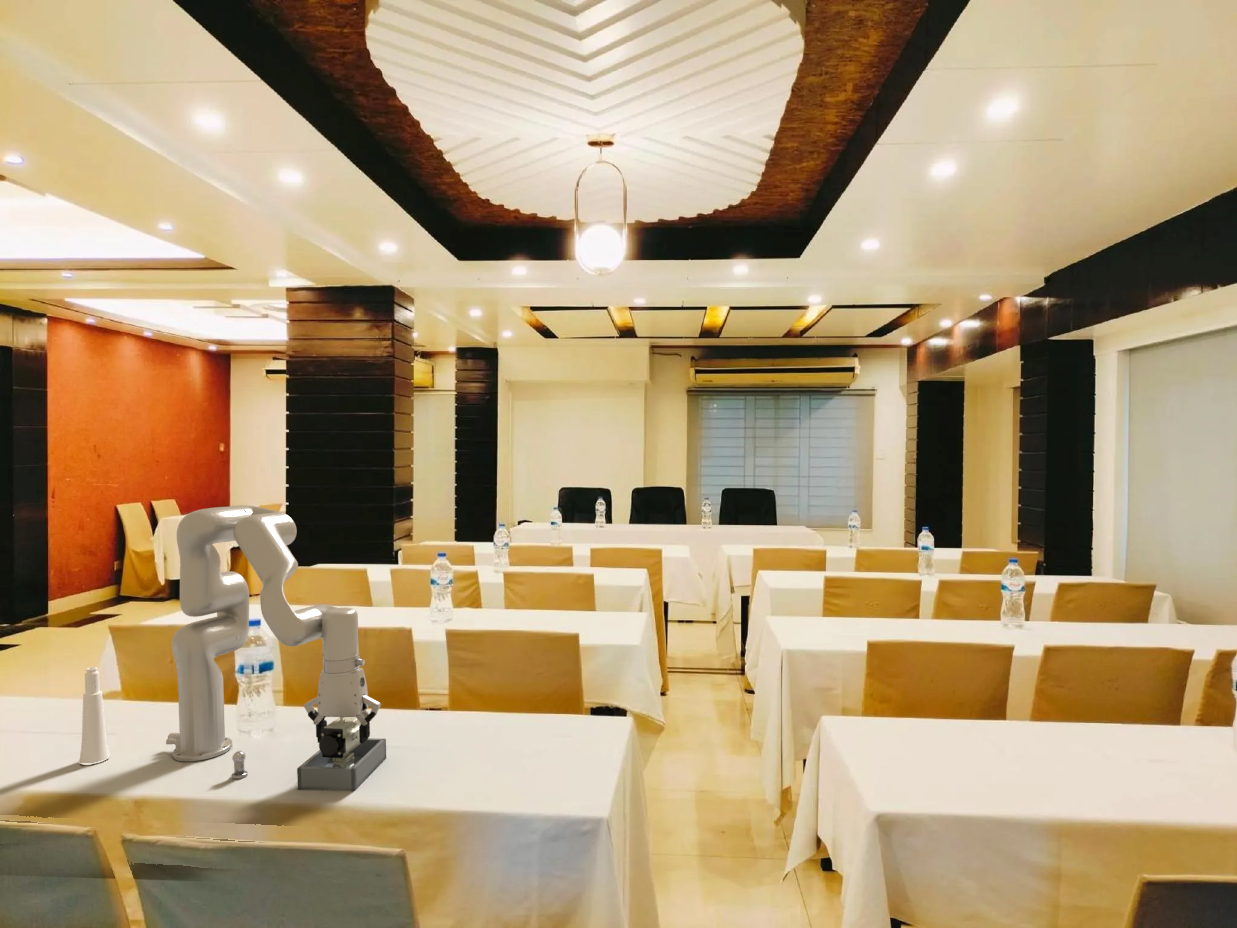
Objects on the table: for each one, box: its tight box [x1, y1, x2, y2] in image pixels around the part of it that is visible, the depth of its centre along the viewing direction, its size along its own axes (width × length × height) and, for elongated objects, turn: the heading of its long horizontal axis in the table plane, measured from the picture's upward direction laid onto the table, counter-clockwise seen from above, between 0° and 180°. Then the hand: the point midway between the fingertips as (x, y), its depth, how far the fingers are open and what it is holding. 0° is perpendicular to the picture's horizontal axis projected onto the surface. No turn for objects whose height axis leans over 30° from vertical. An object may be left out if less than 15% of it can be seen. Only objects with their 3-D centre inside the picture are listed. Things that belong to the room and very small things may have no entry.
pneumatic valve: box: [318, 717, 361, 768], centre depth 164 cm, size 6×12×12 cm, turn 170°
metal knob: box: [230, 750, 249, 781], centre depth 163 cm, size 3×3×6 cm
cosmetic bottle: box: [78, 666, 111, 763], centre depth 174 cm, size 6×6×22 cm
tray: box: [296, 737, 387, 792], centre depth 164 cm, size 13×17×5 cm
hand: (343, 740), depth 164 cm, fingers open, 9 cm apart
